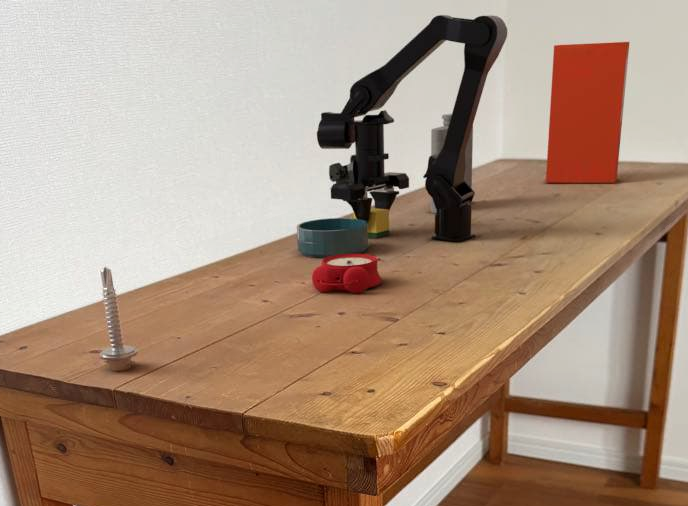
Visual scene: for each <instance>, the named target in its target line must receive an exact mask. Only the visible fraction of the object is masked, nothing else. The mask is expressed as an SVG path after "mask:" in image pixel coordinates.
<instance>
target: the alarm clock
mask: <svg viewBox="0 0 688 506" xmlns="http://www.w3.org/2000/svg"><path fill="white" fill-rule="evenodd" d="M380 261H381V258H380V257H378V258H377V257H376V256H374V255H372V254H365V253H361V254H342V255H335V256H330V257H327V258H322V261H321V265H320V266H319V265H318V266H316V267H315V269H313V271H312V274H311V282H312V285H313V287H314V288H315V290H317V291H318V292H321V293H328V292H331V291H333V290H334V291H348V292H350V293H352V294H361V293H363V292H365V291H366V290H368V289H369V288H373V287H376V286H378V285H380V284H381V283H382V278H381V275H380V272H379V271H378V262H380Z"/></svg>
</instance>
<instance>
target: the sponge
mask: <svg viewBox="0 0 688 506" xmlns="http://www.w3.org/2000/svg"><path fill="white" fill-rule="evenodd" d="M353 219H356V216H355V214H354V213H353ZM389 235H390V210H388V209H377V208H375V207H371V210H370V216H369V222H368V238H369V239H370V238H372V239H379V238H382V237H385V236H389Z"/></svg>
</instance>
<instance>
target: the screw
mask: <svg viewBox="0 0 688 506" xmlns="http://www.w3.org/2000/svg"><path fill="white" fill-rule="evenodd" d="M99 272H100V278H101V285H102V288H101V290H102V293H101V295H102V296H103V298H102V300H103V301H104V302H103V303H102V304H103V305H104V310H105V312H104V314H105V315H106V316H105V317H104V318H105V319H106V323H107V326H106V328H107V329H108V330H107V332H108V335H107V336H108V337H109V339H108V341H109V342H110V343H109V347H105V348H104V349H102V350H101V351H100V353H99V355H98V356H99V358H100V359H101V360H104V361H107V362H108V365H109V370H111V371H115V372H120V371H121V372H122V371H127V370H129V369H130V368H131V367H132V360H131V359H132V358H134V357H136V356H137V355H138V349H137V348H135V347H134V346H132V345H127V344H124V342H125V340H124V339H123V338H124V335H123V332H124V331H123V330H122V329H123V327H122V322H121V321H120V320H121V317H120V314H121V313H120V312H119V311H120V308H119V307H118V306H119V303H118V298H117V297H118V294H117V293H116V292H117V289H116V288H115V286H114V281H113V275H112V269H111V268H108V267H107V266H104V267H103V268H101V270H100V271H99Z"/></svg>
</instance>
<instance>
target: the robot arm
mask: <svg viewBox="0 0 688 506" xmlns="http://www.w3.org/2000/svg"><path fill="white" fill-rule="evenodd" d="M507 37H508V27H507V25H506V23H505V21H504V20H503V19H502V17H499V16H498V15H479V16H477V17H475V18H473V19H472V18H471V19H470V18H464V17H453V16H451V15H448V14H439V15H436V16H434V17H433V18H431V20H430V22H429V23H428V24H427V25H426V26H425V27H424V28H423V29H422V30H421V31H419V32H418V33H417V34H416V35H415V36H414V37H413V38H412V39H411V40H410V41H409V42H408V43H406V45H405V46H403V47H402V48H401V49H400V50H399V51H398V52H397V53H396V54H395V55H393V57H391V58H390V59H389V60H388V61H387V62H386V63H385V64H384V65H382V66H381V67H378V68H377V69H375V70H374V71H372V72H370V73H367V74H365V76H363V77H361V78H360V79H358V80H356V81H355V82H354V83H353V84H352V85H351V87H350V89H349V99H348V100H347V101H346V103H345V105H344V107H343V109H342V110H341V112H332V111H324V112H321V114H320V116H321V117H320V120H319V123H318V126H317V130H316V139H317V143H318V146H319V147H320V149H321V150H322V149H323V150H349V149H350V148H351V147H352V145H353V144H354V149H355V153H354V154H351V155H350V157H349V163H348V164H345V165H342V163H340V162H335V163H332V164H330V165H329V167H328V176H329V180H330V181H331V182H332V183H333V184H332V185H331V187H330V199H331V200H340V201H341V200H342V201H343V202H346V203H347V204H348V205H349V206H350V207H351V209H352V212H353V215H354V214H355V216H356V219H361V220H365V221H367V222H369V216H370V210H371V208H372V205H373V201H374V208H377V209H388V210H389V211H390V210H391V208H392V206H393V204H394V202H395V200H396V198H397V196H398V195H400V190H405V189H409V188H410V177H409V175H407V173H406V172H392V171H389V172H385V161H386V160H389V158H390V157H389V156H390V155H389V153H388V152H387V153H386V152H385V127H384V126H385V125H389V124H393V123H395V119H394V118H393V117H392V116H391V115H390V114H389V113H388V112H387V110H385V109H383V110H381V111H380V112H379V113H378V114H368V113H369V112H374V111H379V110H380V109H382V108H383V107H384V106H385V105H386V103H388V101H389V100H390V99H391V97H392V96H393V94H394V93H395V91H396V89H397V87H398V86H399V85H400V83H401V82H402V81H403V80H404V79H405V78H406V77H407V76H408V75H409V74H411V72H413V71H414V70H415V69H416V68H417V67H418V66H419V65H421V63H423V62H424V61H425V60H426V59H427V58H429V56H431V55H432V54H433V53H434V52H435V51H436V50H437V49H438V48H439V47H441V45H443V44H444V43H445V42H446V41H448V42H453V43H457V44H458V43H459V44H464V47H463V58H464V59H463V61H464V69H463V73H462V77H461V80H460V84H459V87H458V90H457V94H456V97H455V98H456V99H455V102H454V105H453V109H452V112H451V114H452V116H451V120H450V123H449V127H448V130H447V134H446V138H445V141H444V145H443V148H442V150H441V151H440V153H437V154H434V155H432V156H431V155H430V156H429V157H428V160H427V168H426V171H425V173H424V174H423V179H425V182H424V183H425V184H424V187H425V190H426V192H427V194H428V195H429V196H430V198H431V197H432V198H433V201H434V204H435V207H436V209H437V213H434V235H432V236H431V240H436V241H437V240H439V241H447V242H456V243H457V242H461V241H464V240H468V239H472V238H475V237H476V233H472V210H473V209H472V205H471V204H472V202H473V200H474V198H475V194H476V192H475V190H474V189H473V188H471V187H470V186H469V185H468V184H467V183H466V182H465V181H464V175H465V168H466V164H465V150H466V146H467V143H468V140H469V136H470V133H471V129H472V126H473V127H474V122H475V119H476V115H477V112H478V108H479V105H480V102H481V98H482V94H483V91H484V89H485V86H486V85H485V84H486V80H487V78H488V75H489V72H490V71H491V69H492V67H493V66H494V64H495V63H496V61H497V59H498V58H499V55H500V53H501V51H502V49H503V47H504V44H505V43H506V40H507ZM358 117H363V118H362V120H360V119H359V120H358V119H357V120H355V118H358ZM395 188H398V189H399V190H395ZM368 193H369V195H370V196H371V197H368ZM468 203H471V204H468Z"/></svg>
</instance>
